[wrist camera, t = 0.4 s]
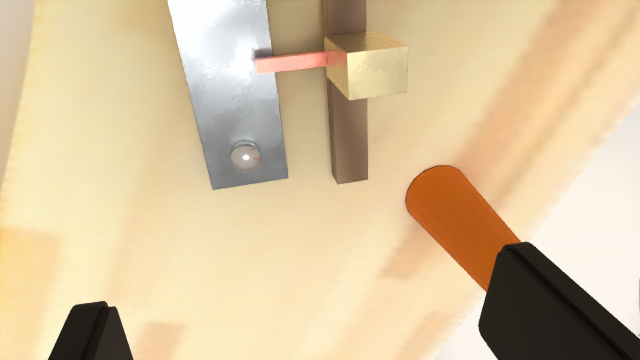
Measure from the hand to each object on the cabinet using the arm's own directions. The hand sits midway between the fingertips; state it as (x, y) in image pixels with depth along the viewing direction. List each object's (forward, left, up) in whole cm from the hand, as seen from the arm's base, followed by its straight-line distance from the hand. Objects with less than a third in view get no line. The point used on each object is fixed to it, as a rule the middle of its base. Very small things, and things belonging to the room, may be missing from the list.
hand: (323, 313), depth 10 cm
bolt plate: (+2, -1, -27) cm, 27 cm away
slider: (-5, -1, -24) cm, 25 cm away
